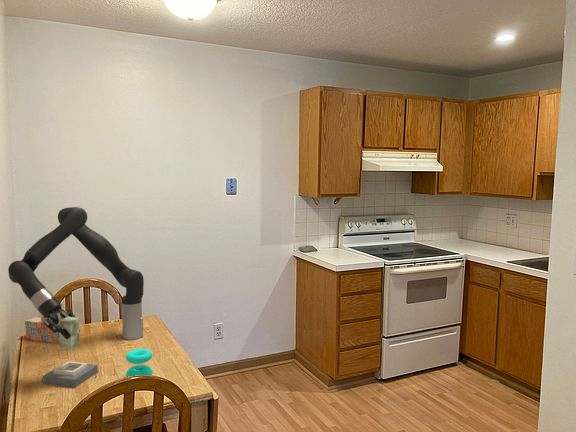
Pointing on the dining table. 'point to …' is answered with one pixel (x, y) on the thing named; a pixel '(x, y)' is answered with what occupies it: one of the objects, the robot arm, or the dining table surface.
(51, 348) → the dining table surface
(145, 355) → the donuts
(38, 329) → the stack of blocks
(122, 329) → the robot arm
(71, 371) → the plinth
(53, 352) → the dining table surface
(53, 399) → the dining table surface
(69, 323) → the pillar
